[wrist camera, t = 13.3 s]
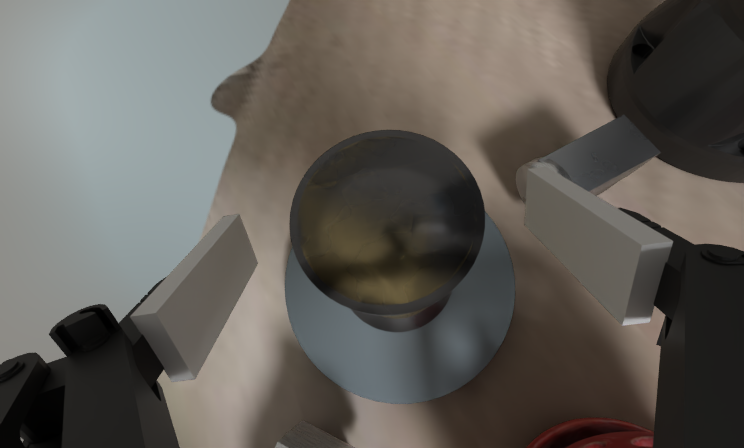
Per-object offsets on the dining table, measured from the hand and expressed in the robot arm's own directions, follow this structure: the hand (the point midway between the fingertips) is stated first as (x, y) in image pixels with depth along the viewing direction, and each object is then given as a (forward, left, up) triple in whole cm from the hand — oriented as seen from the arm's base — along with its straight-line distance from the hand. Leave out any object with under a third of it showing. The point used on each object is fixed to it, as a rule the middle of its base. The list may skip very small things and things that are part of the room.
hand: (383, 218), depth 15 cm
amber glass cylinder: (0, +1, -7) cm, 7 cm away
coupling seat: (0, +1, -9) cm, 9 cm away
